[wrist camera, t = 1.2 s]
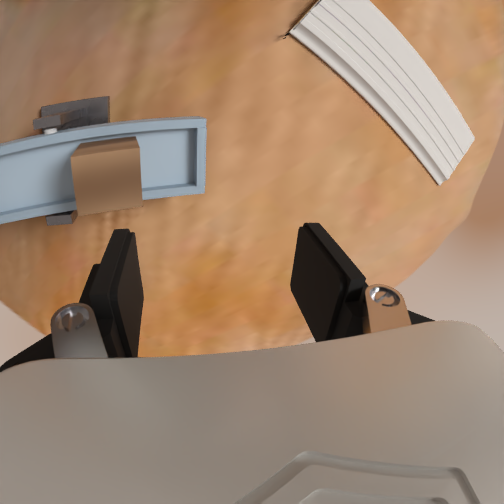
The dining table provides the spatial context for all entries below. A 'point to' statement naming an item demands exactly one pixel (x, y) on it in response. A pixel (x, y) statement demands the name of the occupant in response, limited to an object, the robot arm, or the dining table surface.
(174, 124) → the beam
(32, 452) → the robot arm
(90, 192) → the rider
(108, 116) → the stand
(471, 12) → the dining table surface
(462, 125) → the baseboard molding
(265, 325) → the dining table surface
